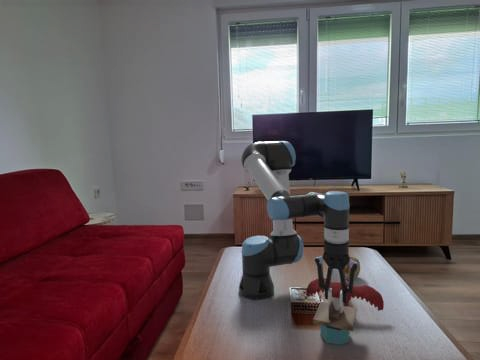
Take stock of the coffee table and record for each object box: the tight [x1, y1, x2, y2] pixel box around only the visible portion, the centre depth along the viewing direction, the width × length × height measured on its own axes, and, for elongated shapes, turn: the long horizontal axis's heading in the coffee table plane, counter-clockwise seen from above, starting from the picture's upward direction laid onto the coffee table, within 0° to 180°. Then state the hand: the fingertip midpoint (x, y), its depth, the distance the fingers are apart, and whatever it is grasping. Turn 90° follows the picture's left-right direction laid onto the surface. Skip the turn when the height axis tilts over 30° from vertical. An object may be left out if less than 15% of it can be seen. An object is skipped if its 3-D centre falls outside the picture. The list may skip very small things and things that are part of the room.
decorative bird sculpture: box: [305, 277, 385, 312], centre depth 120 cm, size 28×9×15 cm
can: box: [330, 269, 341, 282], centre depth 136 cm, size 6×6×12 cm
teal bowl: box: [320, 324, 351, 346], centre depth 105 cm, size 9×9×5 cm
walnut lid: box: [312, 297, 358, 332], centre depth 104 cm, size 12×12×5 cm
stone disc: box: [344, 256, 361, 280], centre depth 147 cm, size 10×4×10 cm, turn 125°
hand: (335, 309), depth 104 cm, fingers closed on walnut lid, 3 cm apart
